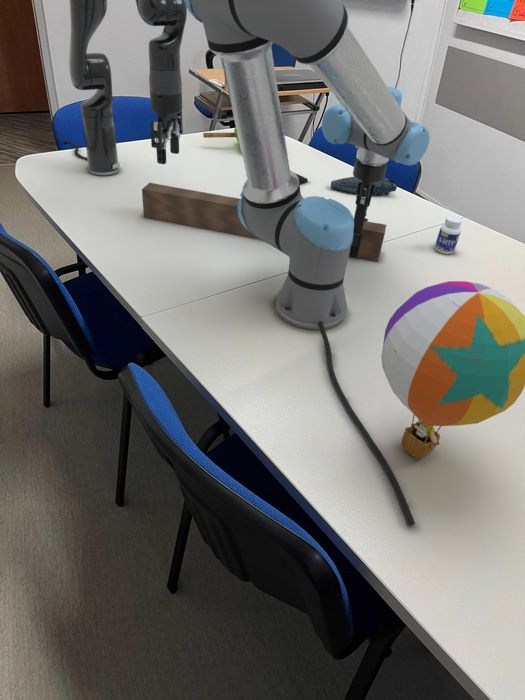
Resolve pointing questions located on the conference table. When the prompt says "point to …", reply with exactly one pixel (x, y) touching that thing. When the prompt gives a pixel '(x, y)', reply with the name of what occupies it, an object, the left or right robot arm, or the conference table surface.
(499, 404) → the toy
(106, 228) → the conference table surface
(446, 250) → the pill bottle
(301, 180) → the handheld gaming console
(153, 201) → the beam
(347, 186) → the fish model
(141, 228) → the conference table surface
